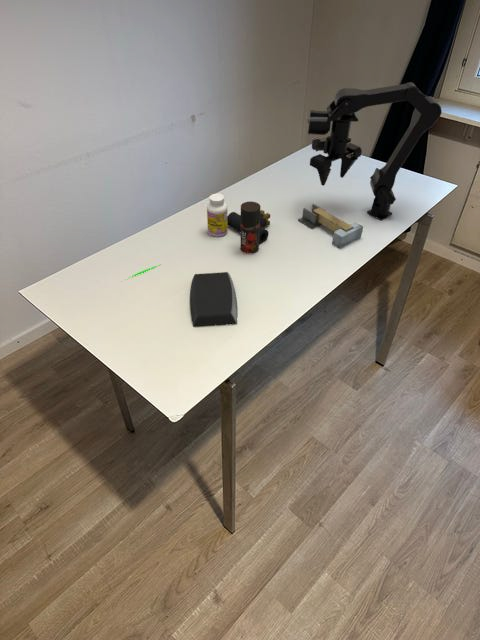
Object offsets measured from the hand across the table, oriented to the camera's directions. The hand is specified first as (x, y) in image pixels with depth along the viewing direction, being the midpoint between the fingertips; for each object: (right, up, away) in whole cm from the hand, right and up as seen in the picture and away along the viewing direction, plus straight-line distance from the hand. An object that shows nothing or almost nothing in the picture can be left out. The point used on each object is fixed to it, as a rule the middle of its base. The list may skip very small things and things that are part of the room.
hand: (332, 181), depth 149 cm
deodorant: (-28, -24, -7) cm, 38 cm away
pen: (-61, -33, -16) cm, 71 cm away
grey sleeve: (-6, -13, +4) cm, 14 cm away
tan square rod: (-1, -16, -2) cm, 16 cm away
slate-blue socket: (+4, -21, -4) cm, 22 cm away
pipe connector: (-26, -17, +1) cm, 31 cm away
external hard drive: (-39, -42, -25) cm, 62 cm away
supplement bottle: (-39, -17, 0) cm, 42 cm away
